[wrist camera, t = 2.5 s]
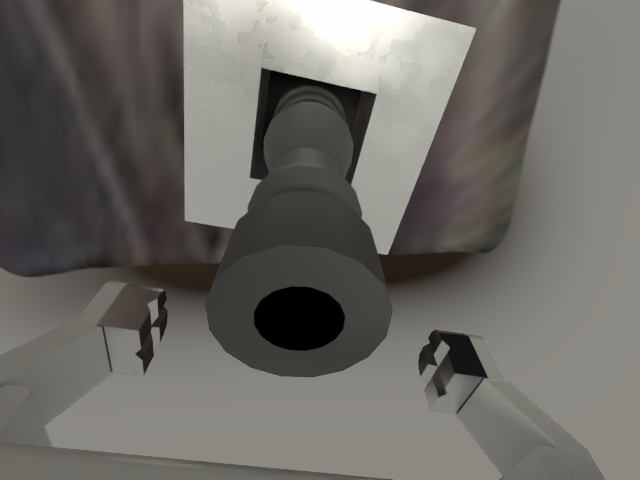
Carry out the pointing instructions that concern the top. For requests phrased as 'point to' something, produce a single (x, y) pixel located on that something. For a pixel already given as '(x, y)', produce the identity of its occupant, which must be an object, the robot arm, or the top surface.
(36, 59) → the top surface
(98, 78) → the top surface
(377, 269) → the candle holder
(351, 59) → the sleeve block
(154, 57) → the top surface
